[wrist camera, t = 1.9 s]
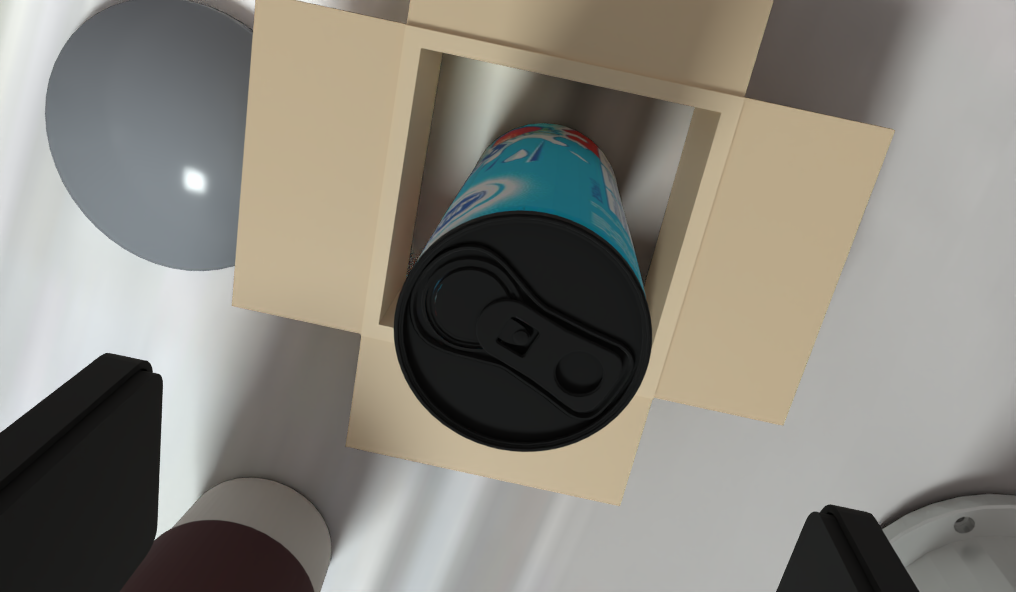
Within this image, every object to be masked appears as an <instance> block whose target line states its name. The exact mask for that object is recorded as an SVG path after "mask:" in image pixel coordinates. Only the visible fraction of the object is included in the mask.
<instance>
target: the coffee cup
mask: <svg viewBox="0 0 1016 592" xmlns="http://www.w3.org/2000/svg"><path fill="white" fill-rule="evenodd" d="M330 559H331V538H330V535H329V531H328V528H327V526H326V523H325V522H324V520H323V518H322V516H321V514H320V513H319V512H318V510H317V509H316V508H315V507H314V506H313V505H312V503H311V502H309V501H308V500H307V499H306V498H305V497H304V496H302V495H301V494H300V493H298V492H296V491H295V490H293V489H291V488H290V487H288V486H285V485H283V484H280V483H278V482H275V481H271V480H267V479H261V478H238V479H233V480H229V481H225V482H223V483H221V484H218V485H217V486H215V487H213V488H211V489H210V490H208V491H207V492H205V493H204V494H203V495H202V496H201V497H200V498H199V499H198V500H197V501H196V502H195V503H194V504H193V506H192V507H191V508H190V509H189V510H188V511H187V512H186V513H185V514H184V515H183V517H182V518H181V519H180V520H179V521H178V522H177V523H176V524H175V525H174V526H173V527H172V529H170V530H168V531H166V532H165V533H163V534H162V535H160V536H159V537H158V538H157V539H156V540H154V542H153V545H152V547H151V549H150V551H149V552H148V554H147V556H146V557H145V558H144V560H143V561H142V562H141V564H140V565H139V566H138V568H137V569H136V570H135V572H134V573H133V574H132V576H131V577H130V578H129V580H128V581H127V582H126V584H125V585H124V586H123V588H122V589H121V590H120V592H320V591H321V588H322V585H323V582H324V579H325V576H326V573H327V570H328V567H329V564H330Z"/></svg>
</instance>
